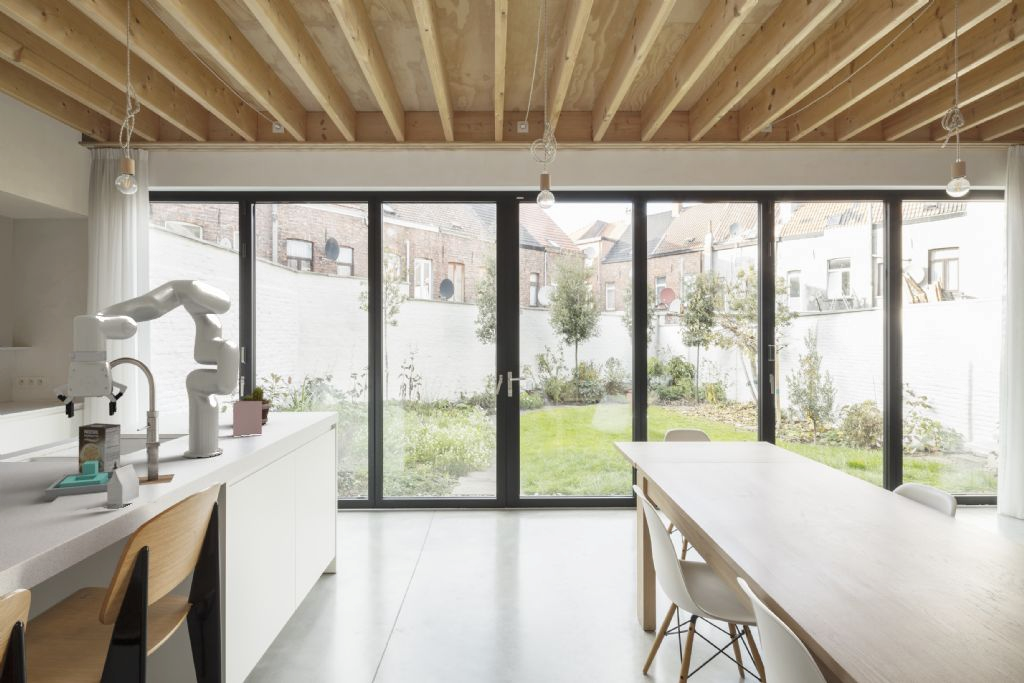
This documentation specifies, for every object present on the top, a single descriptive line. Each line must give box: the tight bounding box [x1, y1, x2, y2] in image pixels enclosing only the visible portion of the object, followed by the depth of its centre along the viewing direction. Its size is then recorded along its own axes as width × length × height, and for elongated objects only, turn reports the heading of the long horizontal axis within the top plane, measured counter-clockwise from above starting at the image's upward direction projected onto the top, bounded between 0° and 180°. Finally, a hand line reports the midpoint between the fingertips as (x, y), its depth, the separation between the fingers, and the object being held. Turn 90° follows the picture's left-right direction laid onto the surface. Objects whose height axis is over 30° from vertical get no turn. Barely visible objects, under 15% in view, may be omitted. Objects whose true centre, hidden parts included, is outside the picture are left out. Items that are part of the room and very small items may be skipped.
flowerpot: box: [240, 384, 272, 426], centre depth 266 cm, size 14×15×20 cm
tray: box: [44, 471, 114, 502], centre depth 156 cm, size 17×14×3 cm
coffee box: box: [78, 422, 121, 474], centre depth 170 cm, size 9×6×16 cm
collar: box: [60, 461, 109, 488], centre depth 156 cm, size 13×9×6 cm
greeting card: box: [232, 400, 263, 437], centre depth 237 cm, size 11×7×15 cm, turn 92°
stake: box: [138, 440, 175, 486], centre depth 163 cm, size 10×10×12 cm
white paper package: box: [106, 463, 140, 510], centre depth 143 cm, size 4×7×10 cm, turn 3°
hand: (91, 416), depth 160 cm, fingers open, 9 cm apart
